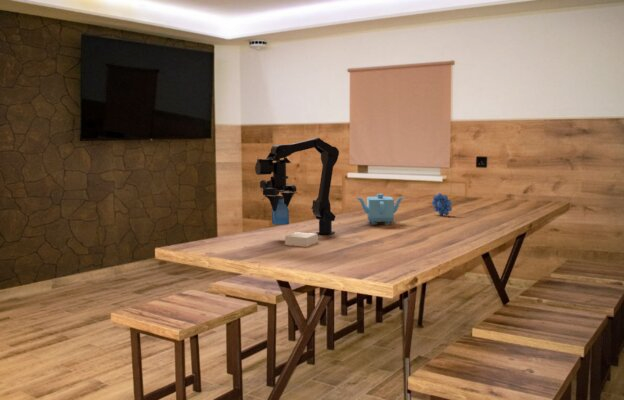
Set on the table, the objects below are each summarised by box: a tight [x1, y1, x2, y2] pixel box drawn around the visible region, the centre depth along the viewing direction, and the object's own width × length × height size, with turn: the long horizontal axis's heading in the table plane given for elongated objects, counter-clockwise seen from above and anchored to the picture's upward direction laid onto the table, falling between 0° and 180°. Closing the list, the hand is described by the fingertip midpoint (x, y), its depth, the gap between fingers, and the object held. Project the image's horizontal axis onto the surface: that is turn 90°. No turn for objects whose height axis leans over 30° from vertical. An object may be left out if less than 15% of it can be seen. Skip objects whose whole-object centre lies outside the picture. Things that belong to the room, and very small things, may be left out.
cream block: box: [284, 231, 319, 248], centre depth 248 cm, size 10×10×4 cm
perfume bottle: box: [271, 195, 290, 226], centre depth 259 cm, size 6×6×12 cm
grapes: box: [431, 192, 453, 216], centre depth 322 cm, size 12×7×12 cm, turn 52°
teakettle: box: [355, 193, 406, 226], centre depth 299 cm, size 19×19×15 cm
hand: (280, 209), depth 259 cm, fingers closed on perfume bottle, 9 cm apart
